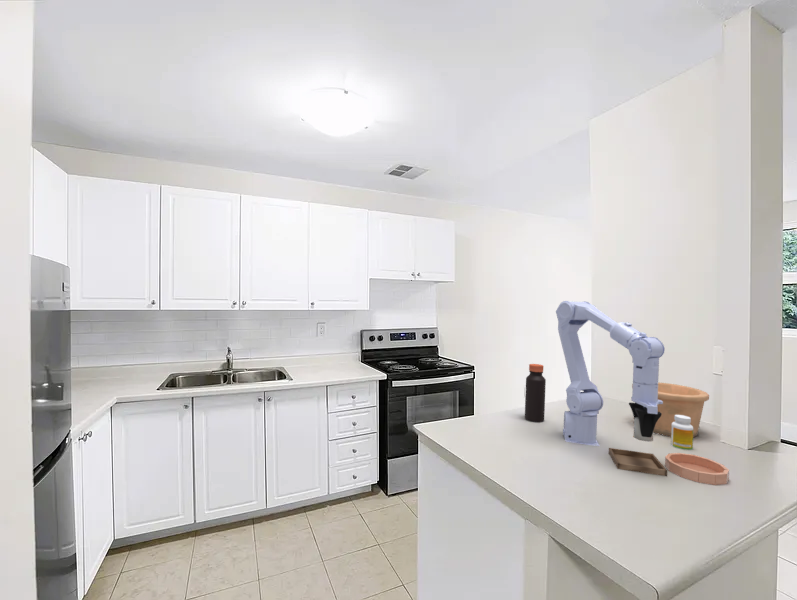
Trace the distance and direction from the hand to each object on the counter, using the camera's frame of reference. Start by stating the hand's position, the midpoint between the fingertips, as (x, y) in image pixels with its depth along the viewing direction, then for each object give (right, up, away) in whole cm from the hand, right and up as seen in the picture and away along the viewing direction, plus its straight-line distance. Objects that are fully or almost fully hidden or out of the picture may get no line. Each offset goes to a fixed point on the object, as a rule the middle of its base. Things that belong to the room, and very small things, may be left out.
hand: (643, 433), depth 102 cm
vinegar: (-16, -8, +38) cm, 42 cm away
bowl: (+11, -9, -4) cm, 15 cm away
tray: (-2, -9, +1) cm, 9 cm away
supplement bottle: (+21, -10, +14) cm, 27 cm away
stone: (0, -1, 0) cm, 1 cm away
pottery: (+29, -10, +32) cm, 44 cm away
